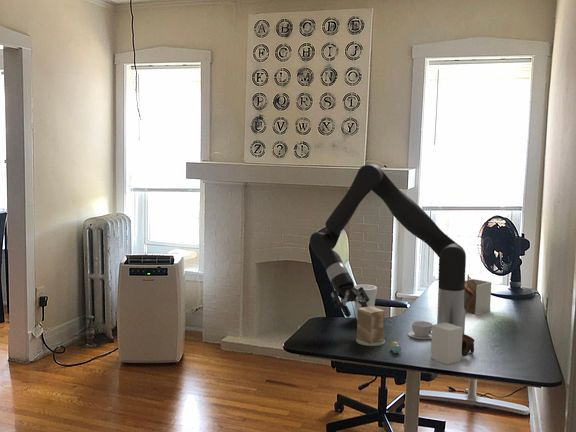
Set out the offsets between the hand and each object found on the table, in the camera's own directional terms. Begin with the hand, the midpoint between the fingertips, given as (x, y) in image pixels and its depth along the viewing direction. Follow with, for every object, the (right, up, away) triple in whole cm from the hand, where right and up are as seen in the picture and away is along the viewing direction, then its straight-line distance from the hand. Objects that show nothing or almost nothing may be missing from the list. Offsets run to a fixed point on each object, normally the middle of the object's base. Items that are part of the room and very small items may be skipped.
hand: (358, 314), depth 224 cm
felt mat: (+4, -9, -4) cm, 11 cm away
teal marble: (+11, -10, -17) cm, 23 cm away
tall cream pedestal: (+26, -11, -22) cm, 36 cm away
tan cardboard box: (+4, -8, -5) cm, 10 cm away
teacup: (+23, -9, +3) cm, 25 cm away
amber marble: (+11, -10, -14) cm, 20 cm away
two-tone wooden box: (+54, -5, +41) cm, 67 cm away
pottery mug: (+32, -11, -17) cm, 38 cm away
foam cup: (+5, -6, +25) cm, 26 cm away
